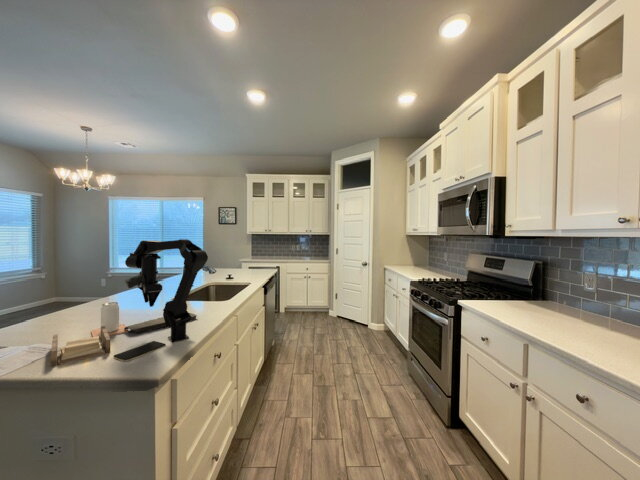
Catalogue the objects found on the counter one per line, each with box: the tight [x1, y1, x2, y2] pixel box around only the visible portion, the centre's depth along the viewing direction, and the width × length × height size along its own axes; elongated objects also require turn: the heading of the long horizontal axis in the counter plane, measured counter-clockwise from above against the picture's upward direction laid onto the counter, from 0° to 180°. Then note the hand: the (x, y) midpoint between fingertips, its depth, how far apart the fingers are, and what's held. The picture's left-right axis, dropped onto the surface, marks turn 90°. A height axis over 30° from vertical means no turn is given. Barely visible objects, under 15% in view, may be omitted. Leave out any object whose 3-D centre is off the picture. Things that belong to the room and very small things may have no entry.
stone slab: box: [124, 312, 198, 333], centre depth 127 cm, size 10×3×30 cm
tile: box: [90, 323, 130, 339], centre depth 116 cm, size 12×12×1 cm
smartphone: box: [112, 340, 166, 362], centre depth 98 cm, size 7×1×15 cm
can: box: [100, 301, 120, 333], centre depth 116 cm, size 6×6×12 cm
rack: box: [50, 326, 111, 367], centre depth 98 cm, size 19×15×5 cm
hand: (148, 304), depth 115 cm, fingers open, 9 cm apart
